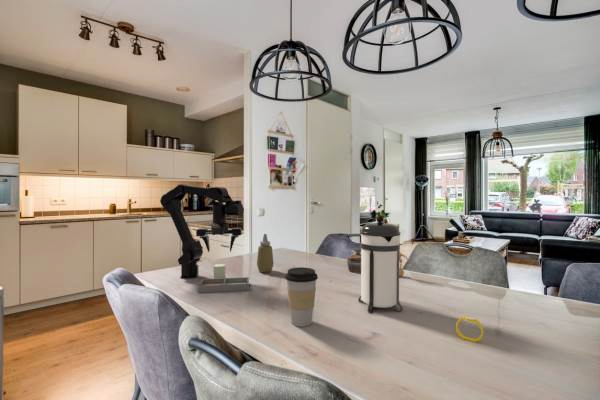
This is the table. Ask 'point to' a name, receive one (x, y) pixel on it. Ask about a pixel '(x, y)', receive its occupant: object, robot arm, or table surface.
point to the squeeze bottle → (265, 256)
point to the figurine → (401, 264)
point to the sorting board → (223, 284)
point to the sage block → (220, 271)
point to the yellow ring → (471, 319)
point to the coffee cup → (301, 294)
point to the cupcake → (354, 261)
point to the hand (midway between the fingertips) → (219, 251)
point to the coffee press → (380, 265)
